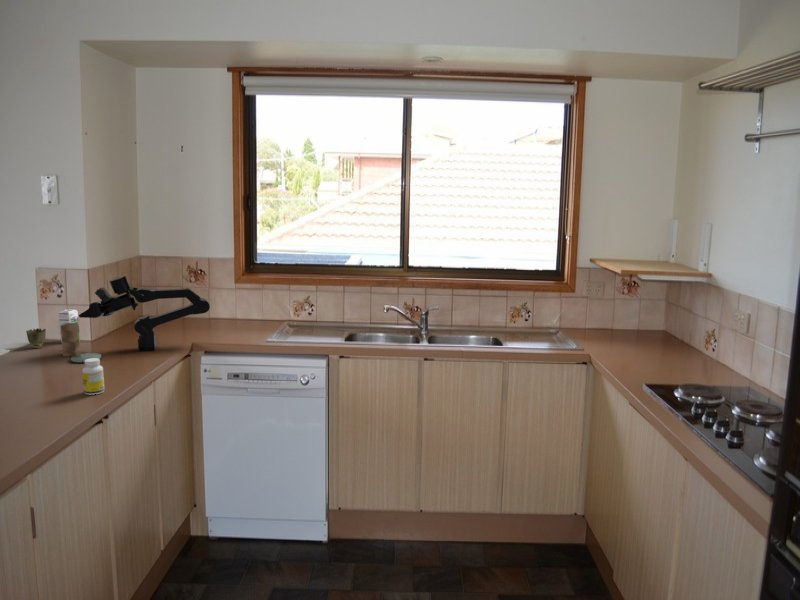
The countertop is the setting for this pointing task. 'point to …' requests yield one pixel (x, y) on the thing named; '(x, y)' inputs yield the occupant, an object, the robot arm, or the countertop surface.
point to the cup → (36, 337)
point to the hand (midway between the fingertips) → (83, 315)
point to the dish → (85, 357)
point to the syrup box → (68, 318)
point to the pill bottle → (93, 377)
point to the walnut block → (70, 339)
